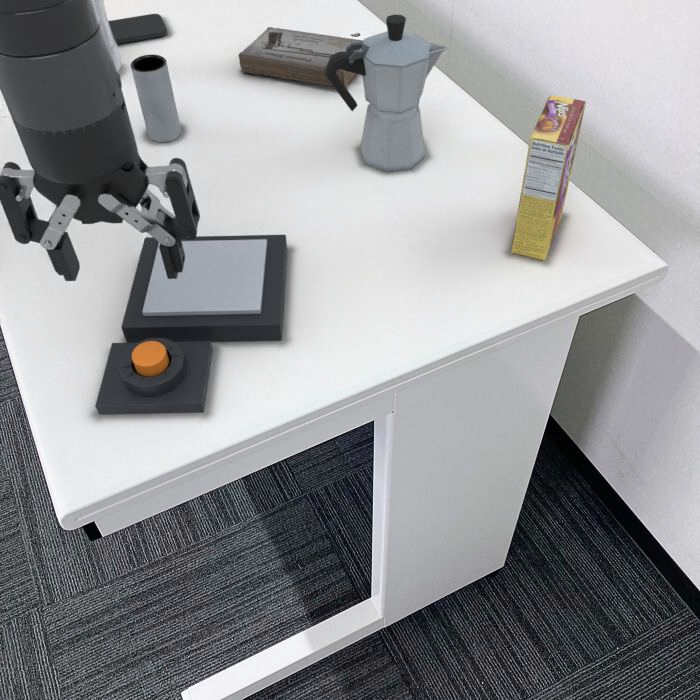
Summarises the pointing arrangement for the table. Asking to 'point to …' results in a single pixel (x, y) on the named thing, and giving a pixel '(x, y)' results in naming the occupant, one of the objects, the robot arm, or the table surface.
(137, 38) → the phone
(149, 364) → the tare button
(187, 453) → the table surface
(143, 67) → the grey hollow tube
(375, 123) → the coffee maker
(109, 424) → the table surface
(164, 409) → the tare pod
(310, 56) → the box
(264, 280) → the scale
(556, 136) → the candy box
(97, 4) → the plastic bottle
